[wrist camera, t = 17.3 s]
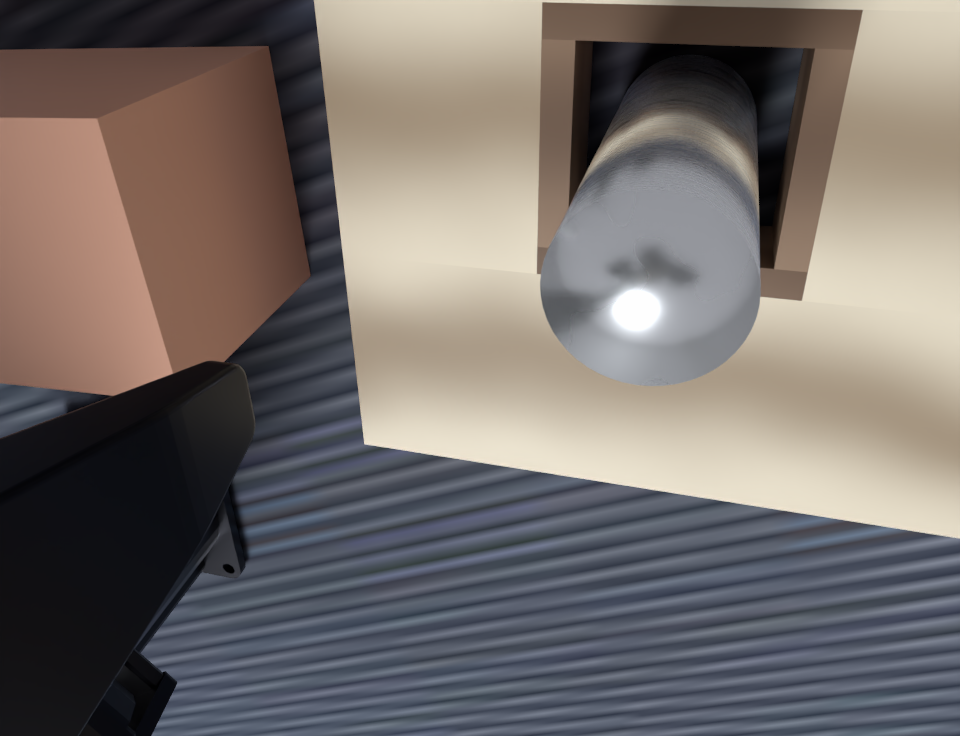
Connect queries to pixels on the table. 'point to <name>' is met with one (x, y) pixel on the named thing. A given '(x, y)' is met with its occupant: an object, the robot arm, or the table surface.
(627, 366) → the steel pin
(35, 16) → the table surface
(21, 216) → the block
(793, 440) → the pin board
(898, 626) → the table surface
